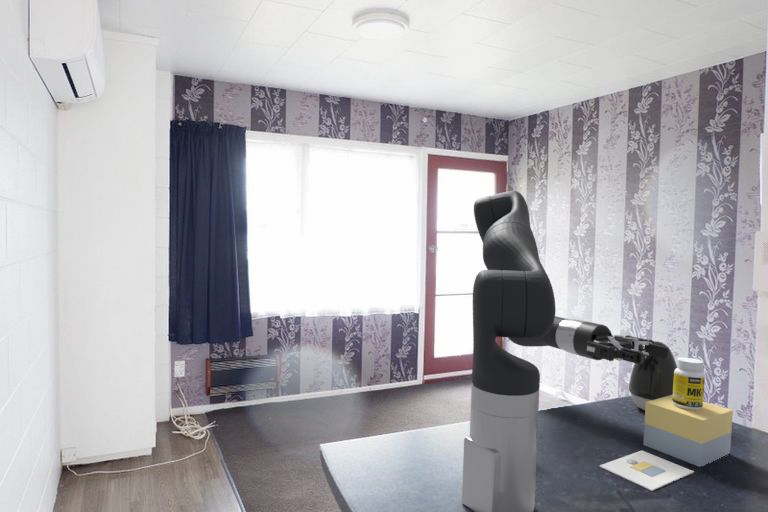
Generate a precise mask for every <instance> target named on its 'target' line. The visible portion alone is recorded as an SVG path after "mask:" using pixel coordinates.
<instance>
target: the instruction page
mask: <svg viewBox="0 0 768 512" xmlns="http://www.w3.org/2000/svg"><path fill="white" fill-rule="evenodd" d="M599 468H601V469H604V470H605V471H607V472H610V473H612V474H614V475H616V476H618V477H620V478H623V479H625V480H626V481H627V480H628V481H629V482H631V483H633V484H635V485H638V486H640V487H642V488H645V489H646V490H649V491H651V492H653V491H655V490H657V489H660V488H662V487H664V486H667V485H669V484H671V483H674V482H676V481H678V480H681V479H683V478H686V477H687V476H689V475H692V474H694V473H695V471H694V470H691V469H689V468H686V467H684V466H682V465H679V464H676V463H673V462H671V461H669V460H667V459H664V458H662V457H659V456H657V455H654V454H652V453H649V452H647V451H644V450H639V451H636V452H633V453H630V454H628V455H624V456H622V457H620V458H619V457H618V458H617V459H614V460H611V461H607V462H605V463H603V464H600V465H599ZM680 478H681V479H680ZM673 481H674V482H673Z"/></svg>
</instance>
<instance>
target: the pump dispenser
mask: <svg viewBox="0 0 768 512" xmlns="http://www.w3.org/2000/svg"><path fill="white" fill-rule="evenodd" d="M653 341H654V340H653ZM654 344H655V345H660V346H664V347H668V348H669V346H668V345H667V344H665V343H663V342H661V341H654ZM643 348H645V345H643ZM676 368H678V366H677V361H676V359H675V357H674V355H673V353H672V351H671V350H670V354H669V358H667V359H664V358H660V357H656V356H652V355H646V354H644V360H643V363H642V364H637V363H633V367H632V370H631V374H630V379H629V384H628V392H629V393H630V397H631V400H632V402H633V403H634V405H636V406H637V407H638V408H639V409H641V410H642V411H645V407H646V402H648V401H652V400H655V399H659V398H663V397H666V396H670V395H673V382H674V371H675V369H676Z"/></svg>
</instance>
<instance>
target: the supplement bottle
mask: <svg viewBox="0 0 768 512" xmlns="http://www.w3.org/2000/svg"><path fill="white" fill-rule="evenodd" d="M676 365H677V368H676V369H675V371H674V382H673V396H672V403H673V404H674V405H675V406H677V407H680V408H683V409H688V410H700V409H702V407H703V402H704V393H705V390H704V389H705V377H706V374H705V373H704V372H703V370H704V361H702V360H700V359H697V358H692V357H678V358H677V360H676Z"/></svg>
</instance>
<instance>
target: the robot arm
mask: <svg viewBox="0 0 768 512" xmlns="http://www.w3.org/2000/svg"><path fill="white" fill-rule="evenodd" d="M473 215H474V220H475V221H474V222H475V225H476V228H477V231H478V234H479V236H480V239H481V242H482V260H483V264H484V266H485V268H486V269H483V270H480V271H479V272H478V273H477V275H476V276H475V278H474V281H473V288H472V289H473V290H472V333H473V335H472V337H473V339H472V340H473V341H472V342H473V344H472V345H473V346H472V347H473V349H472V368H471V389H470V414H469V415H470V417H469V418H470V419H469V436H466V437H464V440H463V456H462V457H463V461H462V487H461V488H462V489H461V491H462V492H461V493H462V494H461V503H462V504H464V505H465V506H466V507H468V508H469V509H470V510H472V511H473V512H534V511H535V500H536V499H535V498H536V478H537V477H536V475H537V474H536V471H537V455H538V454H537V451H538V426H539V424H538V423H539V407H540V406H539V404H540V384H541V376H540V375H541V374H540V370H539V368H538V367H537V366H536V365H535V364H533V363H532V362H530V361H528V360H526V359H525V358H521V357H518V356H516V355H514V354H512V353H510V352H509V351H507V350H505V349H504V348H503V347H501V346H500V345H499V344H498V343H497V341H496V340H497V338H498V337H500V338H507V339H508V340H509V341H510V342H512V343H513V344H516V345H518V346H521V347H529V348H532V347H548V346H549V347H551V348H555V349H559V350H562V351H565V352H567V353H570V354H572V355H576V356H580V357H583V358H587V359H591V360H594V361H602V360H605V361H609V362H612V361H614V360H616V361H618V362H620V361H626V362H629V363H633V364H635V363H637V364H642V363H643V360H644V354H646V355H652V356H656V357H660V358H664V359H667V358H669V354H670V351H671V349H670V347H669V346H668V347H664V346H660V345H655V344H654V340H652V339H647V338H641V337H637V336H632V335H627V334H626V335H625V336H623V335H619V334H614V335H613V334H612V332H611V329H610V328H609V327H608V326H606V325H604V324H601V323H596V322H590V321H586V320H580V319H574V318H566V317H562V316H561V317H560V316H556V309H557V308H556V301H555V300H556V299H555V292H554V289H553V286H552V283H551V280H550V278H549V276H548V274H547V272H546V270H545V268H544V267H543V264H542V262H541V259H540V256H539V250H538V249H539V248H538V246H537V245H538V244H537V242H536V238H535V235H534V233H533V229H532V228H531V221H530V212H529V207H528V204H527V200H526V199H525V198H524V196H523V194H521V193H520V192H519V191H517V190H508V191H504V192H499V193H496V194H492V195H487V196H484V197H480V198H478V199H476V200H475V201H474V204H473ZM643 346H645V348H643Z"/></svg>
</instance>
